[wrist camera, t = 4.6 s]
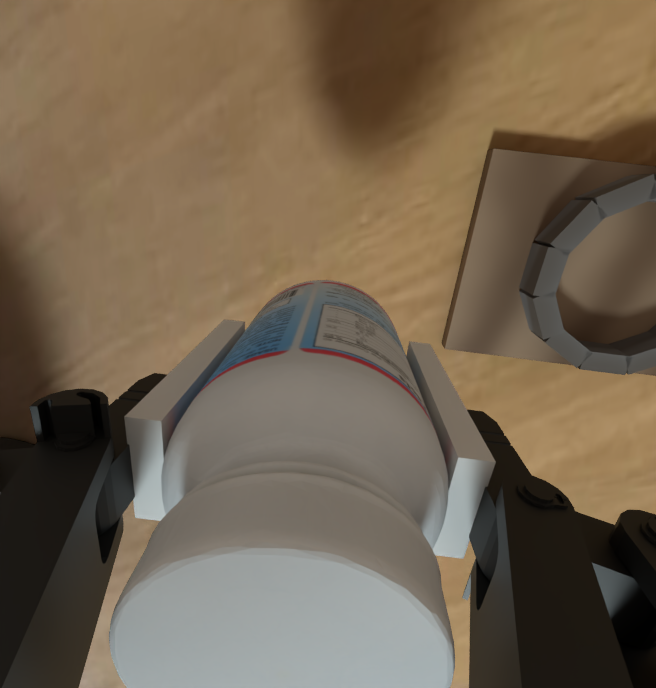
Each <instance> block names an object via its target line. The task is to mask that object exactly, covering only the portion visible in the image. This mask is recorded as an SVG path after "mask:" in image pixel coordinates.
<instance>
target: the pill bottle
mask: <svg viewBox="0 0 656 688" xmlns="http://www.w3.org/2000/svg"><path fill="white" fill-rule="evenodd" d="M161 486H162V500H163V505H164V510H165V514H166V515H165V516H164V517H163V518H162V520H161V521H160V522H159V524H158V525H157V527H156V528H155V530H154V532H153V533H152V535H151V538H150V540H149V542H148V545H147V548H146V550H145V551H144V553H143V555H142V557H141V559H140V561H139V562H138V564H137V566H136V568H135V570H134V571H133V573H132V575H131V577H130V579H129V580H128V582H127V584H126V586H125V588H124V590H123V592H122V593H121V595H120V598H119V600H118V602H117V604H116V607H115V609H114V612H113V616H112V619H111V625H110V632H109V643H110V650H111V656H112V659H113V662H114V665H115V667H116V670H117V672H118V675H119V676H120V678H121V679H122V681H123V682H124V684H125V685H126V687H127V688H450V686H451V683H452V678H453V673H454V668H455V652H454V641H453V636H452V631H451V626H450V621H449V617H448V613H447V609H446V604H445V600H444V596H443V592H442V587H441V574H440V570H439V565H438V562H437V559H436V556H435V554H434V552H433V550H432V549H433V548H434V546H435V544H436V542H437V540H438V538H439V535H440V533H441V530H442V527H443V524H444V521H445V516H446V511H447V506H448V474H447V468H446V463H445V459H444V455H443V452H442V449H441V446H440V443H439V439H438V436H437V434H436V431H435V429H434V426H433V423H432V420H431V418H430V416H429V413H428V410H427V408H426V406H425V404H424V401H423V398H422V396H421V393H420V391H419V388H418V386H417V383H416V380H415V378H414V375H413V373H412V370H411V368H410V365H409V363H408V360H407V358H406V355H405V353H404V350H403V347H402V345H401V342H400V340H399V338H398V335H397V332H396V330H395V327H394V325H393V323H392V321H391V320H390V318H389V316H388V315H387V313H386V312H385V310H384V309H383V308H382V307H381V306H380V304H379V303H378V302H377V301H376V300H375V299H373V298H372V297H371V296H370V295H368V294H367V293H365V292H364V291H362V290H360V289H358V288H356V287H354V286H351V285H348V284H345V283H341V282H337V281H329V280H317V281H308V282H304V283H300V284H297V285H294V286H291V287H289V288H287V289H285V290H284V291H282V292H280V293H279V294H277V295H276V296H275V297H273V298H272V299H271V300H270V301H269V302H268V303H267V304H266V305H265V306H264V307H263V308H262V310H261V311H260V312H259V313H258V314H257V316H256V317H255V318H254V320H253V321H252V322H251V324H250V325H249V327H248V328H247V329H246V330H245V332H244V333H243V334H242V336H241V337H240V338H239V340H238V341H237V342H236V344H235V345H234V346H233V348H232V349H231V350H230V352H229V353H228V355H227V356H226V357H225V359H224V360H223V361H222V363H221V364H220V365H219V367H218V368H217V369H216V371H215V372H214V373H213V374H212V376H211V377H210V378H209V380H208V381H207V382H206V384H205V385H204V387H203V388H202V389H201V391H200V392H199V393H198V395H197V396H196V397H195V399H194V400H193V401H192V403H191V404H190V406H189V407H188V409H187V410H186V412H185V414H184V415H183V417H182V418H181V420H180V421H179V423H178V424H177V426H176V428H175V431H174V433H173V435H172V437H171V439H170V441H169V444H168V447H167V450H166V453H165V457H164V462H163V467H162V474H161Z"/></svg>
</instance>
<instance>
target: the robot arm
mask: <svg viewBox="0 0 656 688" xmlns="http://www.w3.org/2000/svg"><path fill="white" fill-rule="evenodd" d="M244 332H245V322H242V321H234V320H225V319H224V320H223V321H222V322H221V323H220V324H219V325H218V326H217V327H216V328H215V329H214V330H213V331H212V332H211V333H210V334H209V335H208V336H207V337H206V338H205V339H204V340H203V341H202V342H201V343H200V344H199V345H198V346H197V347H196V348H195V349H193V350H192V351H191V352H190V353H189V354H188V355H187V356H186V357H185V358H184V359H183V360H182V361H181V362H180V363H179V364H178V365H177V366H176V367H175V368H174V369H173V370H172V371H171V372H170V373H169V374H168V375H165V374H157V373H154V374H152V375H149V376H147V377H145V378H143V379H140V380H138V381H137V382H136V383H135V384H134V385H133V386H131V387H130V388H129V389H128V391H126V392H124V393H123V394H122V395H121V396H120V397H119V399H116V400H115V401H114V402H113V403H112V404H111V405H109V404H108V397H107V396H106V395H105V394H104V393H103V392H100V391H96V390H93V389H73V390H65V391H61V392H57V393H53V394H50V395H48V396H46V397H43V398H41V399H39V400H37V401H36V402H35V403H34V404H32V405H31V406H30V411H31V415H32V420H33V425H34V429H35V434H36V438H37V443H36V445H32V444H29V443H26V442H23V441H19V440H14V439H7V438H0V688H78V687H79V684H80V680H81V677H82V673H83V670H84V666H85V663H86V659H87V656H88V652H89V649H90V645H91V642H92V638H93V635H94V631H95V628H96V624H97V621H98V617H99V614H100V610H101V607H102V603H103V600H104V596H105V593H106V589H107V586H108V582H109V579H110V576H111V572H112V569H113V565H114V562H115V558H116V555H117V551H118V548H119V544H120V541H121V537H122V534H123V516H122V514H123V512H124V511H125V510H126V508H127V507H128V506H129V504H130V503H131V501H132V500H133V501H134V510H135V518H141V519H149V520H158V521H161V520H162V518H163V517H164V516H165V515H166V514H165V510H164V505H163V500H162V486H161V474H162V467H163V462H164V457H165V453H166V450H167V447H168V444H169V441H170V439H171V437H172V435H173V433H174V431H175V428H176V426H177V424H178V423H179V421H180V420H181V418H182V417H183V415H184V414H185V412H186V410H187V409H188V407H189V406H190V404H191V403H192V401H193V400H194V399H195V397H196V396H197V395H198V393H199V392H200V391H201V389H202V388H203V387H204V385H205V384H206V382H207V381H208V380H209V378H210V377H211V376H212V374H213V373H214V372H215V371H216V369H217V368H218V367H219V365H220V364H221V363H222V361H223V360H224V359H225V357H226V356H227V355H228V353H229V352H230V350H231V349H232V348H233V346H234V345H235V344H236V342H237V341H238V340H239V338H240V337H241V336H242V334H243V333H244ZM406 358H407V360H408V363H409V365H410V368H411V370H412V373H413V375H414V378H415V380H416V383H417V386H418V388H419V391H420V393H421V396H422V398H423V401H424V404H425V406H426V408H427V410H428V413H429V416H430V418H431V420H432V423H433V426H434V429H435V431H436V434H437V436H438V439H439V443H440V446H441V449H442V452H443V455H444V459H445V463H446V468H447V474H448V506H447V511H446V516H445V521H444V524H443V527H442V530H441V533H440V535H439V538H438V540H437V542H436V544H435V546H434V548H433V549H432V550H433V552H434V554H435V555H438V556H446V557H454V558H464V555H465V552H466V549H467V546H468V543H469V540H470V542H471V544H472V547H473V550H474V553H475V556H476V559H475V562H474V565H473V568H472V570H471V573H470V576H469V579H468V582H467V585H466V587H465V590H464V594H463V597H462V598H464V599H466V600H468V597H469V595H470V592H471V595H470V665H469V688H656V515H655V514H652V513H648V512H645V511H641V510H627V511H625V512H623V513H621V514H620V516H619V518H618V520H617V522H616V524H615V525H613V524H610V523H607V522H604V521H601V520H598V519H595V518H592V517H590V516H587V515H584V514H581V513H578V512H576V511H575V510H574V507H573V506H572V504H571V502H570V501H569V499H568V498H567V497H566V496H565V495H564V494H563V493H562V492H561V491H560V490H559V489H558V488H556V487H554V486H553V485H551V484H550V483H548V482H546V481H544V480H542V479H539V478H537V477H534V476H532V475H531V474H530V472H529V471H528V469H527V468H526V466H525V465H524V463H523V462H522V460H521V459H520V457H519V456H518V454H517V452H516V451H515V449H514V448H513V446H510V444H511V443H510V442H509V440H508V439H507V437H506V436H504V433H503V431H502V430H501V428H500V427H499V425H498V424H497V422H496V421H494V420H493V419H492V418H491V417H489V416H488V415H487V414H485V413H484V412H482V411H474V410H467V409H466V408H465V406H464V404H463V402H462V400H461V399H460V397H459V395H458V393H457V391H456V390H455V388H454V386H453V384H452V382H451V381H450V379H449V377H448V375H447V374H446V372H445V370H444V368H443V366H442V365H441V363H440V361H439V359H438V357H437V356H436V354H435V352H434V350H433V348H432V347H431V345H430V344H427V343H418V342H410V341H409V346H408V351H407V356H406Z"/></svg>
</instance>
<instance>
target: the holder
mask: <svg viewBox="0 0 656 688" xmlns="http://www.w3.org/2000/svg"><path fill="white" fill-rule="evenodd" d="M442 345H443V347H444V348H445V349H450V350H458V351H466V352H474V353H481V354H489V355H497V356H505V357H513V358H521V359H528V360H536V361H544V362H552V363H560V364H568V365H574V366H575V367H576V368H577V367H578V368H579V369H583V370H591V371H598V372H606V373H614V374H622V375H625V374H626V373H627V374H632V373H638V374H646V375H654V376H656V166H647V165H638V164H629V163H620V162H611V161H602V160H593V159H583V158H574V157H565V156H556V155H547V154H538V153H529V152H520V151H511V150H502V149H491V150H488V152H487V156H486V161H485V165H484V169H483V173H482V177H481V181H480V186H479V190H478V194H477V198H476V202H475V206H474V211H473V215H472V219H471V223H470V227H469V231H468V236H467V240H466V244H465V248H464V252H463V257H462V261H461V265H460V269H459V273H458V277H457V282H456V286H455V290H454V294H453V298H452V302H451V307H450V311H449V315H448V319H447V323H446V328H445V332H444V336H443V340H442Z"/></svg>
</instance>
